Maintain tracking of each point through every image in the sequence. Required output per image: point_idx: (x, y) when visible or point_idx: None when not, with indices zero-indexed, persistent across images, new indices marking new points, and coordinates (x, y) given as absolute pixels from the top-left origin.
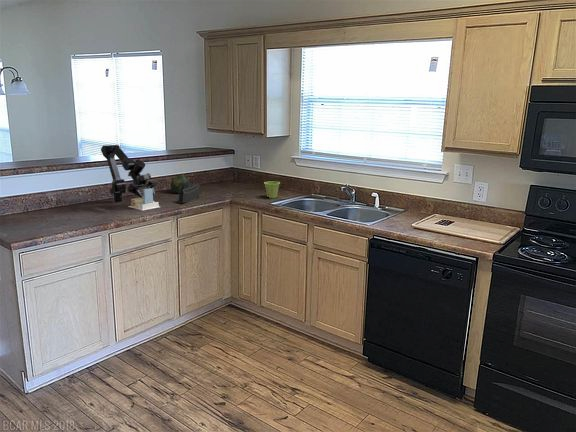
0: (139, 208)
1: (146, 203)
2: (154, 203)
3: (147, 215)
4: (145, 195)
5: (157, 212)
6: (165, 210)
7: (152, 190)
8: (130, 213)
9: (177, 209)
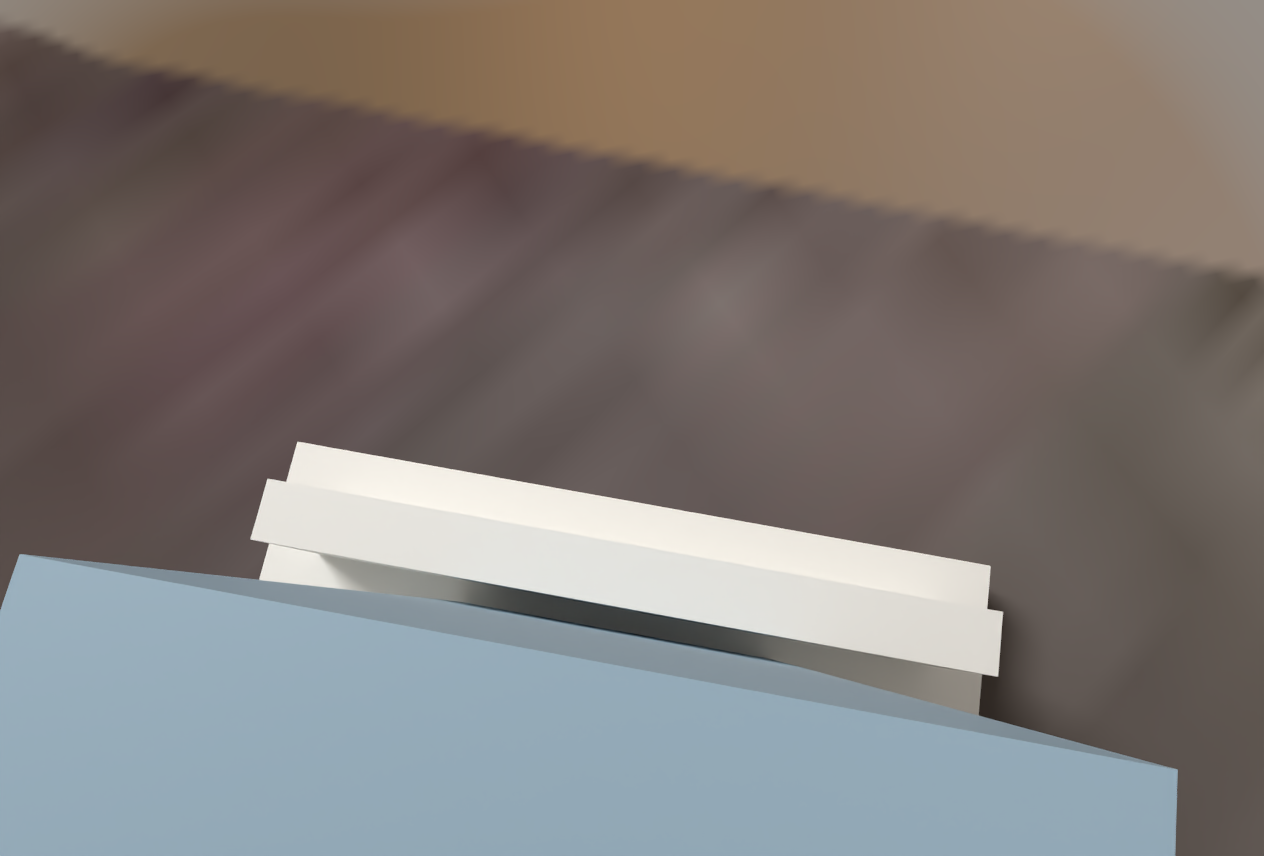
0: None
1: (742, 657)
2: (454, 515)
3: (1078, 254)
4: (866, 690)
5: (692, 267)
6: (402, 249)
7: (156, 571)
8: (1241, 808)
9: (156, 82)
